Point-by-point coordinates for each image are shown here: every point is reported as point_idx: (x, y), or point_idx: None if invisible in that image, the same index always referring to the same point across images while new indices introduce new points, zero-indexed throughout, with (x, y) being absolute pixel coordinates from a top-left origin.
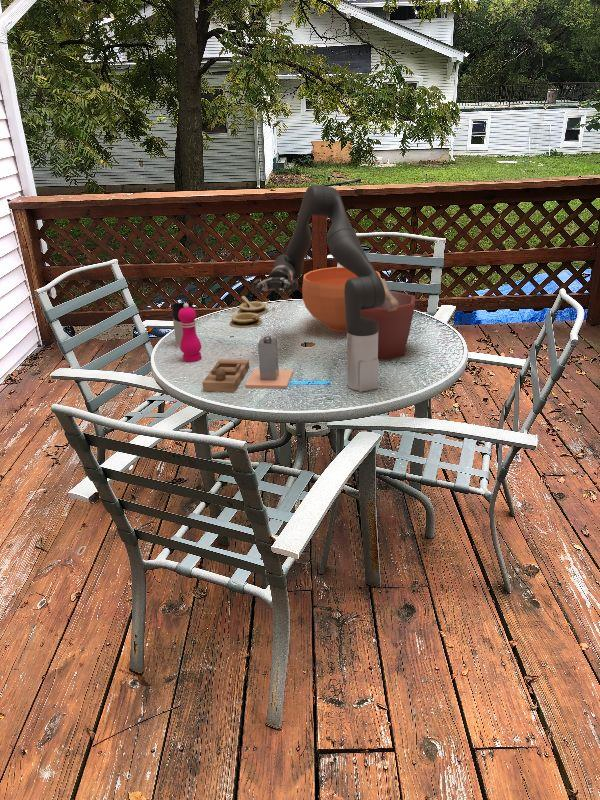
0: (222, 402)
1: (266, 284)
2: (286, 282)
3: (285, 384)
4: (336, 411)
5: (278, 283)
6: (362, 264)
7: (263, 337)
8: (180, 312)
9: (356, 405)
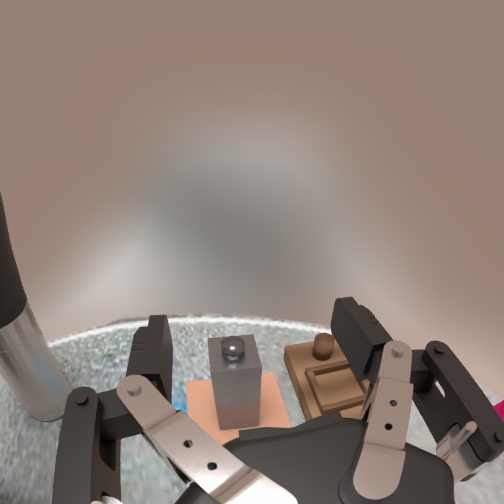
0: (283, 328)
1: (368, 407)
2: (156, 408)
3: (190, 386)
4: (104, 326)
5: (255, 438)
6: None
7: (243, 341)
8: None
9: (75, 340)
